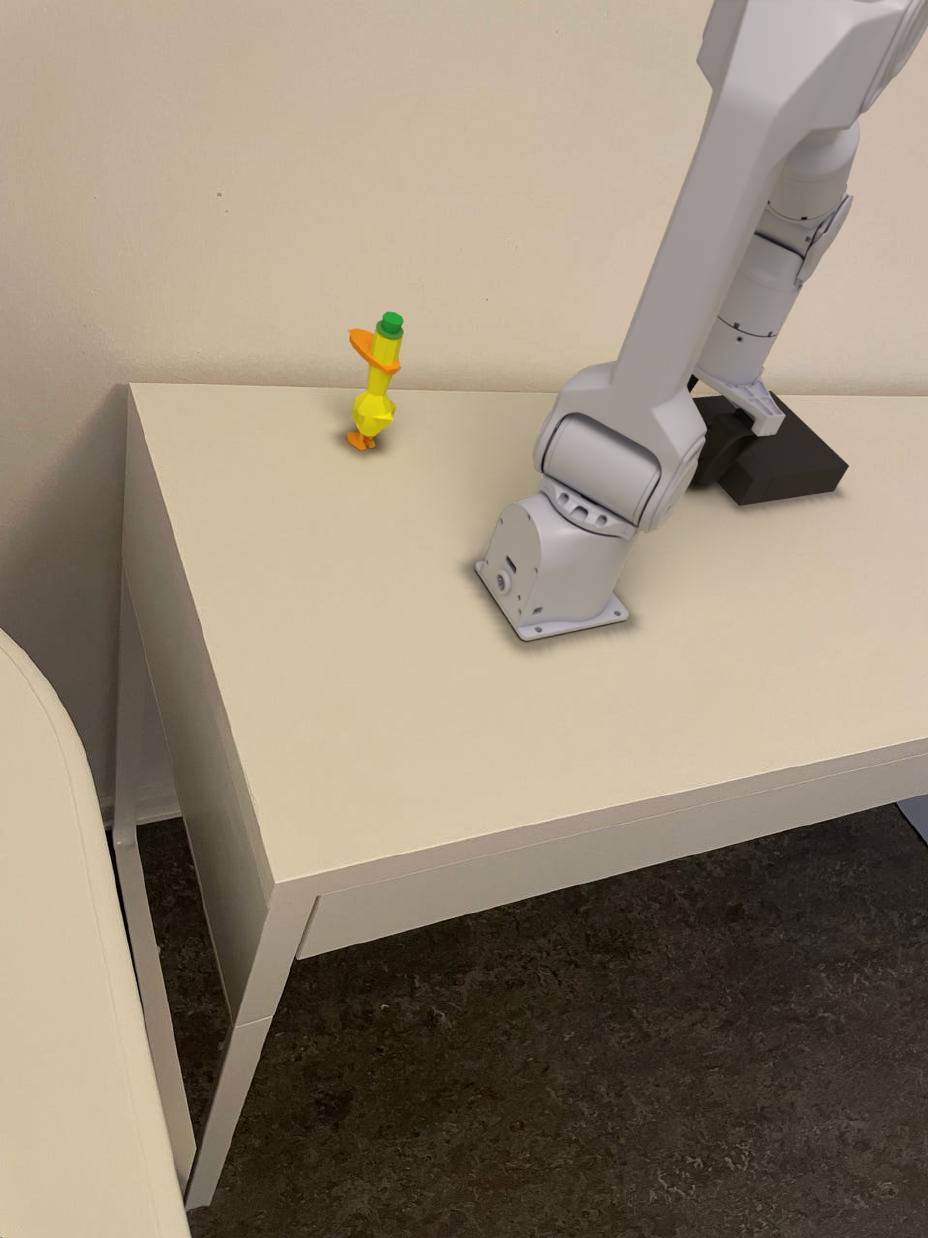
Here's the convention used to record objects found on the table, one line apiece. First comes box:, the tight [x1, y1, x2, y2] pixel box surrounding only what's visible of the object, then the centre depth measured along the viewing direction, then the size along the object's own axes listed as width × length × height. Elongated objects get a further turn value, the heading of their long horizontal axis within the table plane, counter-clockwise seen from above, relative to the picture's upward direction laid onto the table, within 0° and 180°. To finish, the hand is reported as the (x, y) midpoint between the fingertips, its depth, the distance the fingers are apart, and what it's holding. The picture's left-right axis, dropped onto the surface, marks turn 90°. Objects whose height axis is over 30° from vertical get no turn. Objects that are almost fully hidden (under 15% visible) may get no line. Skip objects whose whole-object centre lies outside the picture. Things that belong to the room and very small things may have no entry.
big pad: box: [691, 390, 850, 506], centre depth 97 cm, size 12×12×3 cm
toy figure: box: [346, 311, 405, 452], centre depth 81 cm, size 7×4×12 cm, turn 40°
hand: (682, 453), depth 93 cm, fingers open, 7 cm apart
